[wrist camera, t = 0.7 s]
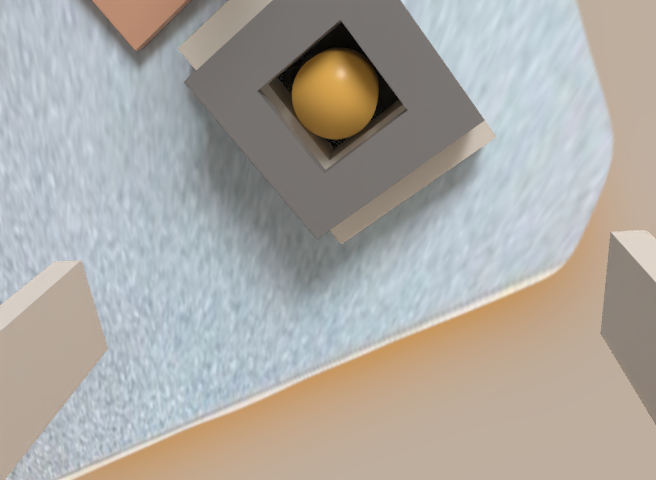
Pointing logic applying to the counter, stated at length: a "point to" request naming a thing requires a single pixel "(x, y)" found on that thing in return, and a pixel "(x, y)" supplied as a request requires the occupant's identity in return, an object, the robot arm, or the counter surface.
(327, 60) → the button
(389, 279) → the counter surface
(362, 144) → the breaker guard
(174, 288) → the counter surface
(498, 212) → the counter surface
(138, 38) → the rest tile
